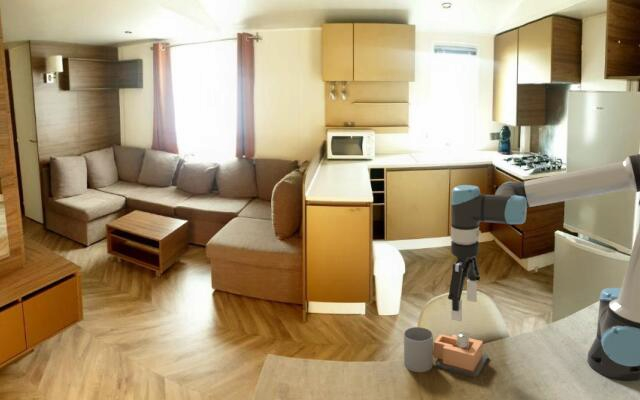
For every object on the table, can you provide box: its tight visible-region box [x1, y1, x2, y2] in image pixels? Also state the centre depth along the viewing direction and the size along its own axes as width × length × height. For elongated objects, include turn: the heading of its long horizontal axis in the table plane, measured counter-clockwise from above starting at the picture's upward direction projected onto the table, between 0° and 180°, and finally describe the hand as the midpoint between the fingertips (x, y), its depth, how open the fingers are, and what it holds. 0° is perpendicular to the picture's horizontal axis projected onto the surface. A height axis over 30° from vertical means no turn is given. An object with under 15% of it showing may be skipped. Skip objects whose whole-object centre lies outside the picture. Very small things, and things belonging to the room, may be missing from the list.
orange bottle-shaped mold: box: [433, 333, 484, 371], centre depth 160 cm, size 12×9×5 cm
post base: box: [435, 331, 489, 379], centre depth 158 cm, size 12×12×9 cm
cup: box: [403, 326, 434, 373], centre depth 158 cm, size 8×8×10 cm
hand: (464, 310), depth 155 cm, fingers open, 13 cm apart
